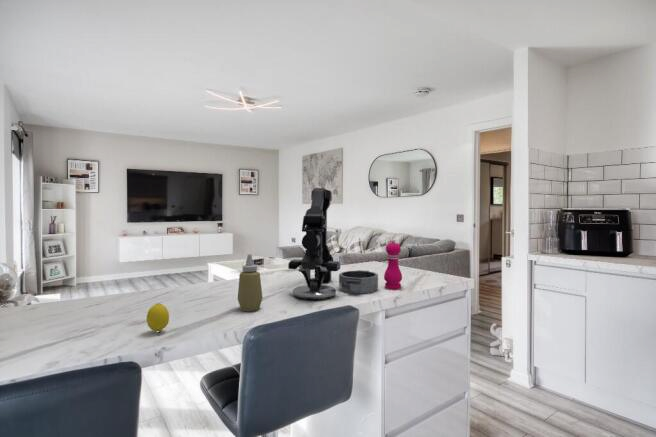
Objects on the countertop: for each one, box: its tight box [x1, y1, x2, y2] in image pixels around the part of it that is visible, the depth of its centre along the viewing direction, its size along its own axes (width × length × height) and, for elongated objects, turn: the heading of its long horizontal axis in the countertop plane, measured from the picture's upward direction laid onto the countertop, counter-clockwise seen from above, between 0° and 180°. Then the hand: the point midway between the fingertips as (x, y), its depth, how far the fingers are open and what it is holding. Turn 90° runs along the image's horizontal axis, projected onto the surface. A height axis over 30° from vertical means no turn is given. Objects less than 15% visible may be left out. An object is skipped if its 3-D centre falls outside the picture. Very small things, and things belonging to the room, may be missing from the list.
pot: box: [338, 269, 379, 295], centre depth 149 cm, size 15×21×6 cm
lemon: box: [146, 302, 170, 332], centre depth 101 cm, size 6×6×8 cm
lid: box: [292, 277, 337, 301], centre depth 140 cm, size 16×16×6 cm
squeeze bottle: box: [237, 254, 263, 312], centre depth 122 cm, size 8×8×18 cm
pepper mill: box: [383, 238, 403, 291], centre depth 151 cm, size 7×7×20 cm
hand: (314, 288), depth 140 cm, fingers closed on lid, 4 cm apart
